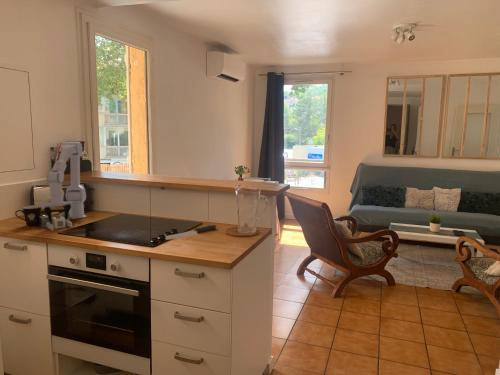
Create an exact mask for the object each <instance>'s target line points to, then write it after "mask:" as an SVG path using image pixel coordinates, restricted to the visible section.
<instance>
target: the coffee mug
mask: <svg viewBox="0 0 500 375" xmlns="http://www.w3.org/2000/svg"><path fill="white" fill-rule="evenodd" d="M18 212H22V213H23V216H24V218H22V217H20V216H19V215H17V214H18ZM14 215H15V217H17V218H18V219H20V220H22V221H24V222H25V224H26V227H27V226H29V228H33V226H35V227H40V226H39V216H42V206H41V205H28V206H27V205H26V206H23V207H22V209H19V210H16V211H15V213H14Z"/></svg>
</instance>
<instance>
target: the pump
mask: <svg viewBox="0 0 500 375" xmlns="http://www.w3.org/2000/svg"><path fill="white" fill-rule="evenodd" d="M52 225H53V226H54V230H57V229H63V228H66V225H65V218H64V217H62V216H56V217H54V218H52Z"/></svg>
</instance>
